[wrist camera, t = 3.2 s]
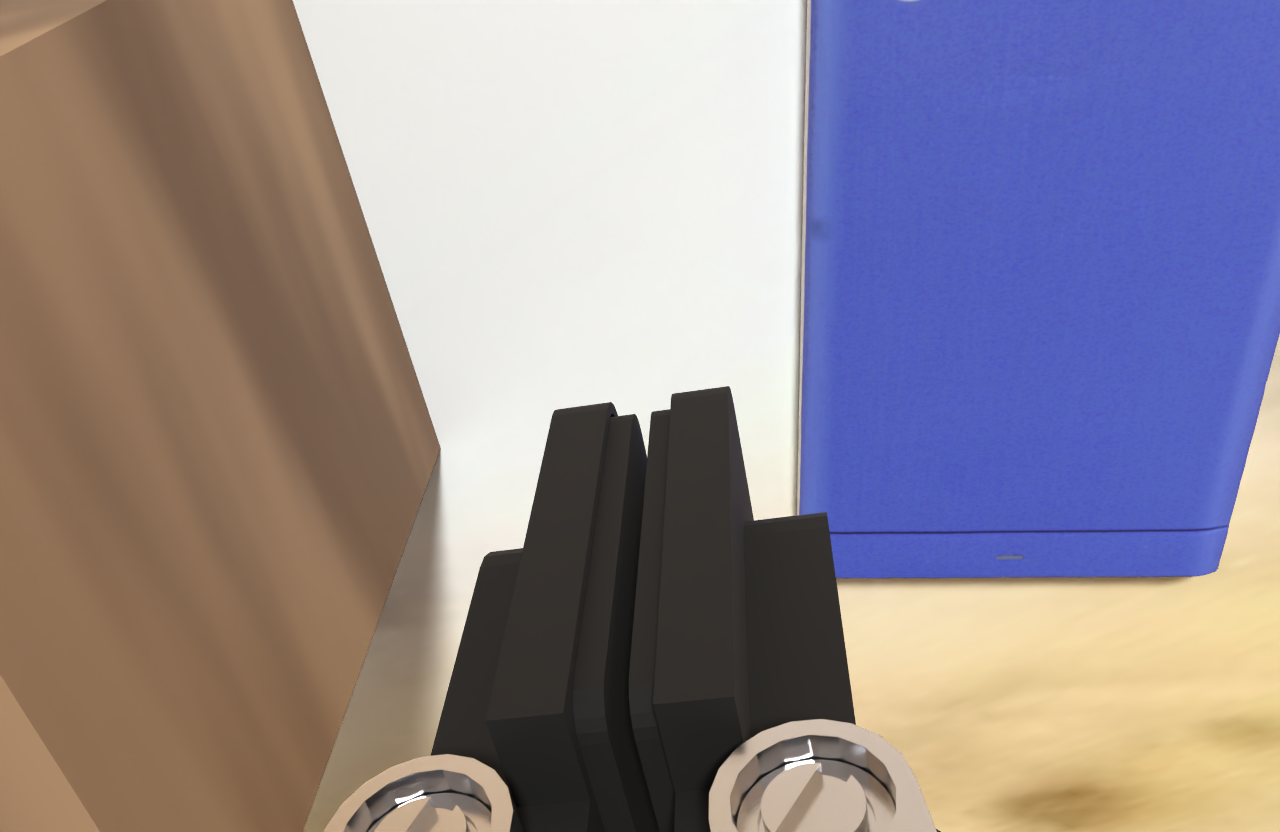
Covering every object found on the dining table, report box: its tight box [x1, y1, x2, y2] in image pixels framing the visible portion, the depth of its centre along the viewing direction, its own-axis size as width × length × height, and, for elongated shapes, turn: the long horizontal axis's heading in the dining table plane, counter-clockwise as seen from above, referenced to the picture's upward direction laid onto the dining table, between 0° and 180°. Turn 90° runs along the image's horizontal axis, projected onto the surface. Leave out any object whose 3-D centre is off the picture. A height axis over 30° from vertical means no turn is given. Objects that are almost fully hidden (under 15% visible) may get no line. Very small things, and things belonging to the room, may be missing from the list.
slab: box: [0, 0, 441, 832], centre depth 16 cm, size 4×10×12 cm, turn 11°
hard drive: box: [797, 0, 1280, 578], centre depth 21 cm, size 2×8×12 cm
